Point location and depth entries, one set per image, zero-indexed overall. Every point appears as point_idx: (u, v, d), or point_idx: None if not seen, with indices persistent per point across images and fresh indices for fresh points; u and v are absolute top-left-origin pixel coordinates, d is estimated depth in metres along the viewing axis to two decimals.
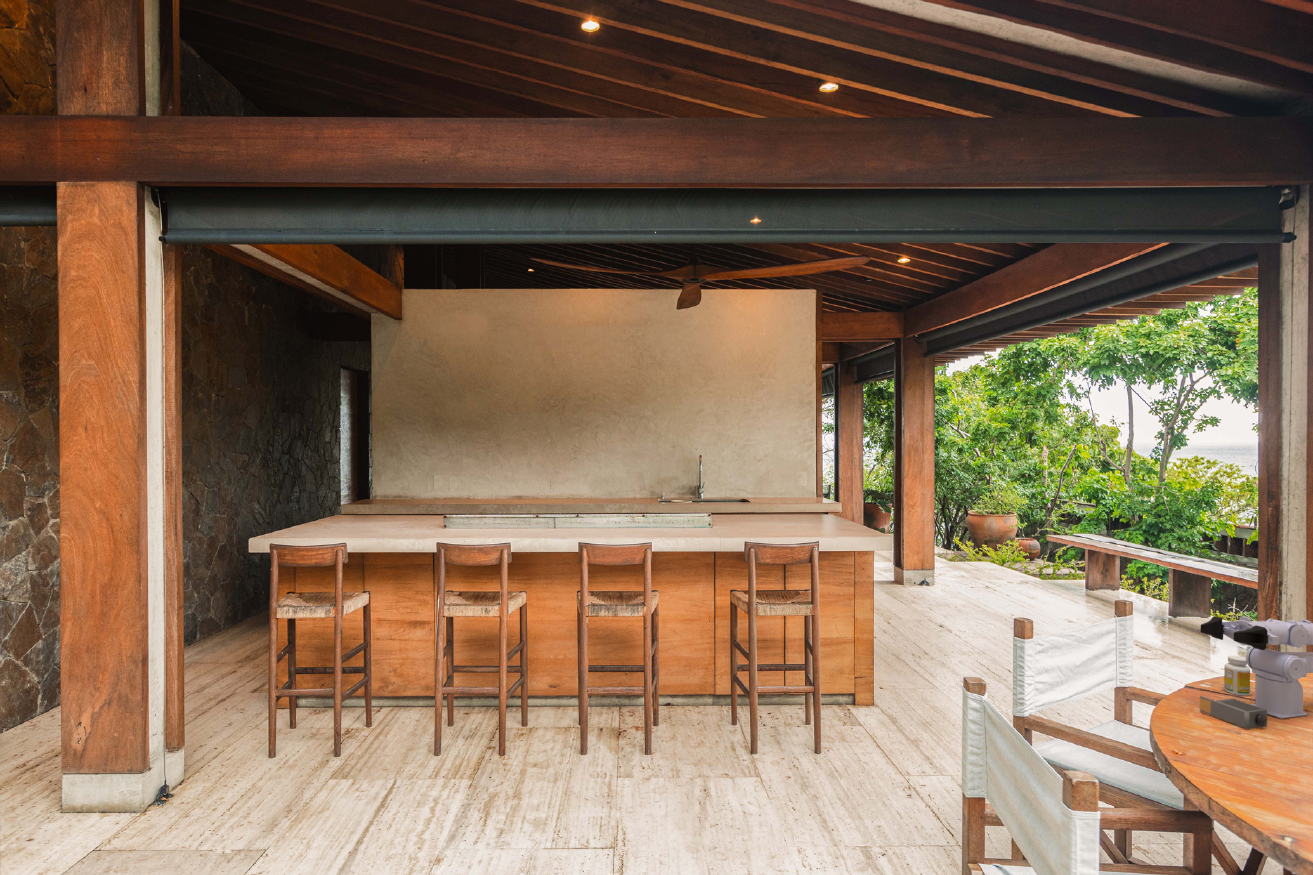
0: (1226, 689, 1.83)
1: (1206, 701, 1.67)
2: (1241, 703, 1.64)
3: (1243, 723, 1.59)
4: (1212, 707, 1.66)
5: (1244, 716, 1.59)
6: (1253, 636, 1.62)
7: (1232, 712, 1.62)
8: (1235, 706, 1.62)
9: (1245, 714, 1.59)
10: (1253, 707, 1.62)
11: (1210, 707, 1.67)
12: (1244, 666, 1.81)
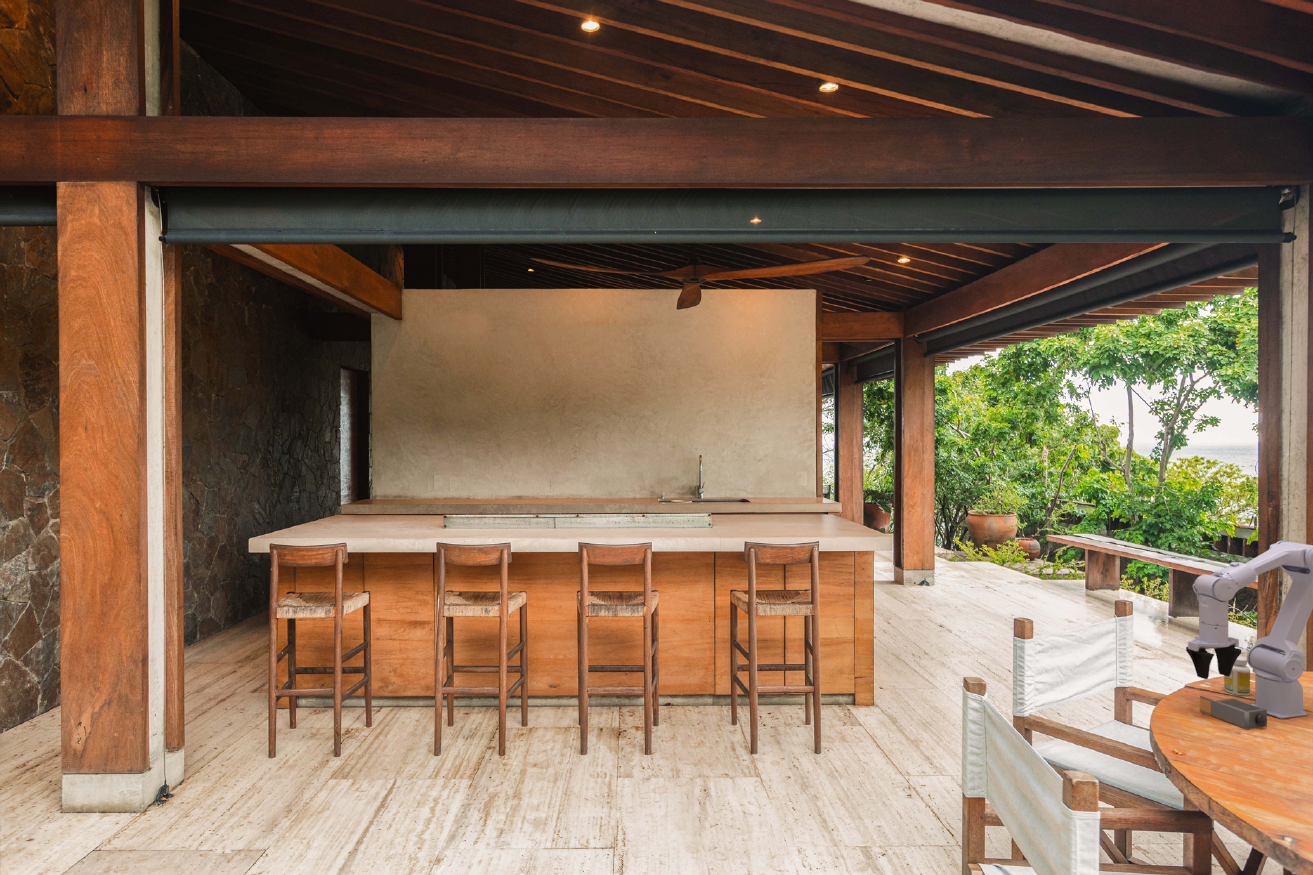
0: (1226, 689, 1.83)
1: (1206, 701, 1.67)
2: (1241, 703, 1.64)
3: (1243, 723, 1.59)
4: (1212, 707, 1.66)
5: (1244, 716, 1.59)
6: (1200, 656, 1.67)
7: (1232, 712, 1.62)
8: (1235, 706, 1.62)
9: (1245, 714, 1.59)
10: (1253, 707, 1.62)
11: (1210, 707, 1.67)
12: (1244, 666, 1.81)
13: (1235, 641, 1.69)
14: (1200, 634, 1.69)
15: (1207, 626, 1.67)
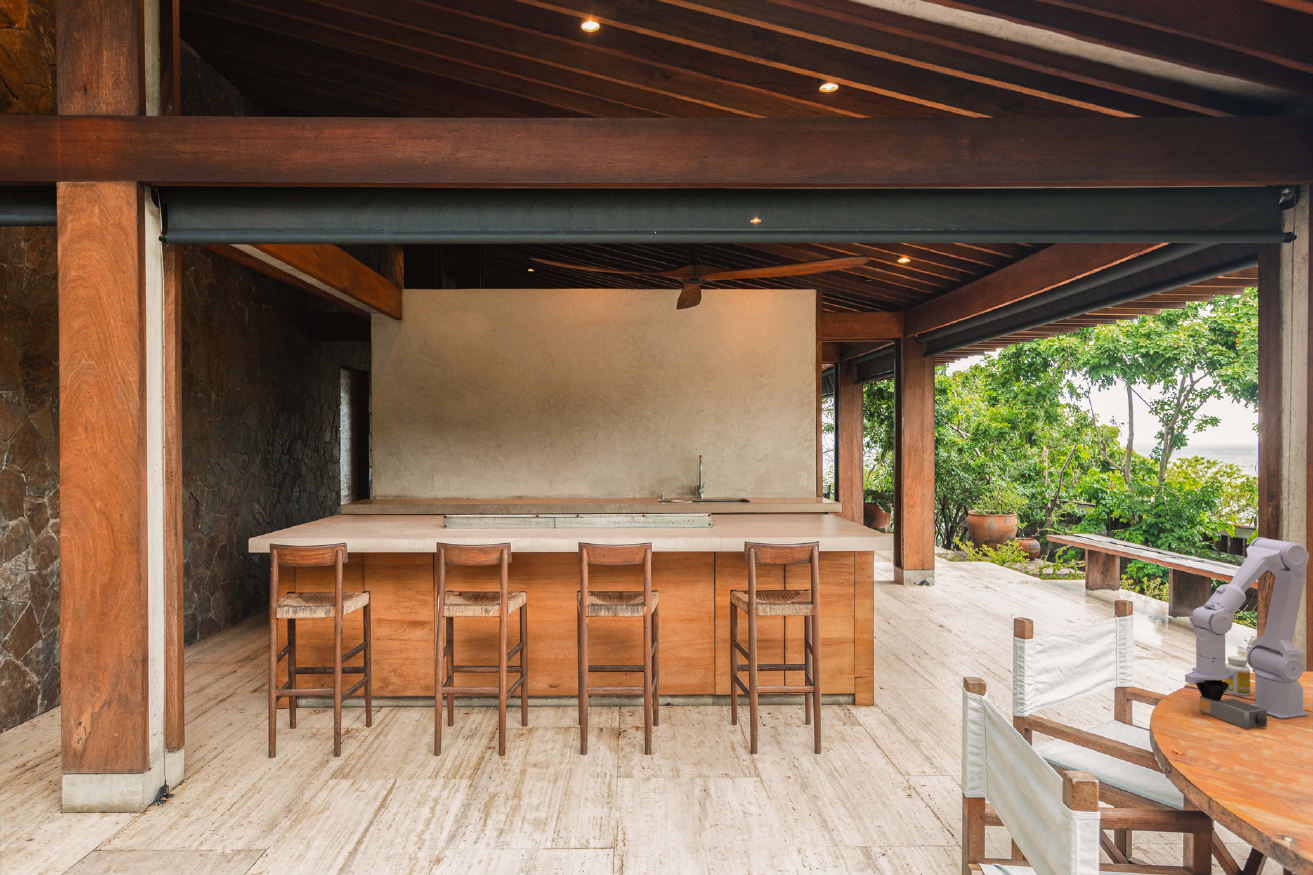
0: None
1: (1206, 701, 1.67)
2: (1241, 703, 1.64)
3: (1243, 723, 1.59)
4: (1212, 707, 1.66)
5: (1244, 716, 1.59)
6: (1207, 687, 1.68)
7: (1232, 712, 1.62)
8: (1235, 706, 1.62)
9: (1245, 714, 1.59)
10: (1253, 707, 1.62)
11: (1210, 707, 1.67)
12: (1244, 666, 1.81)
13: (1232, 673, 1.69)
14: (1197, 666, 1.69)
15: (1204, 659, 1.67)
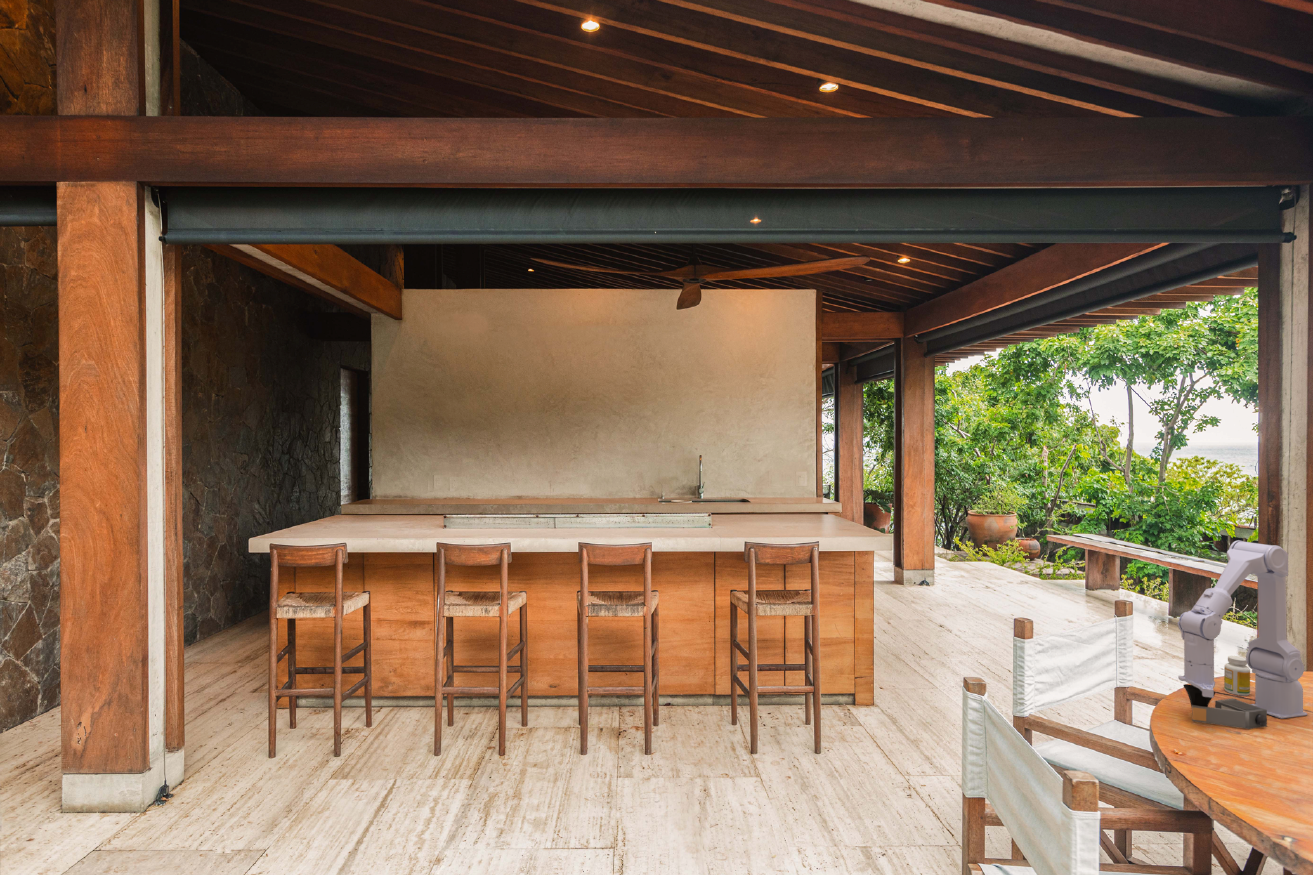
0: (1226, 689, 1.83)
1: (1201, 709, 1.62)
2: (1241, 703, 1.64)
3: (1245, 724, 1.59)
4: (1208, 714, 1.62)
5: (1246, 717, 1.59)
6: (1198, 695, 1.63)
7: (1231, 715, 1.60)
8: (1235, 706, 1.62)
9: (1247, 714, 1.59)
10: (1253, 707, 1.62)
11: (1205, 715, 1.62)
12: (1244, 666, 1.81)
13: None
14: (1195, 676, 1.62)
15: (1205, 667, 1.61)
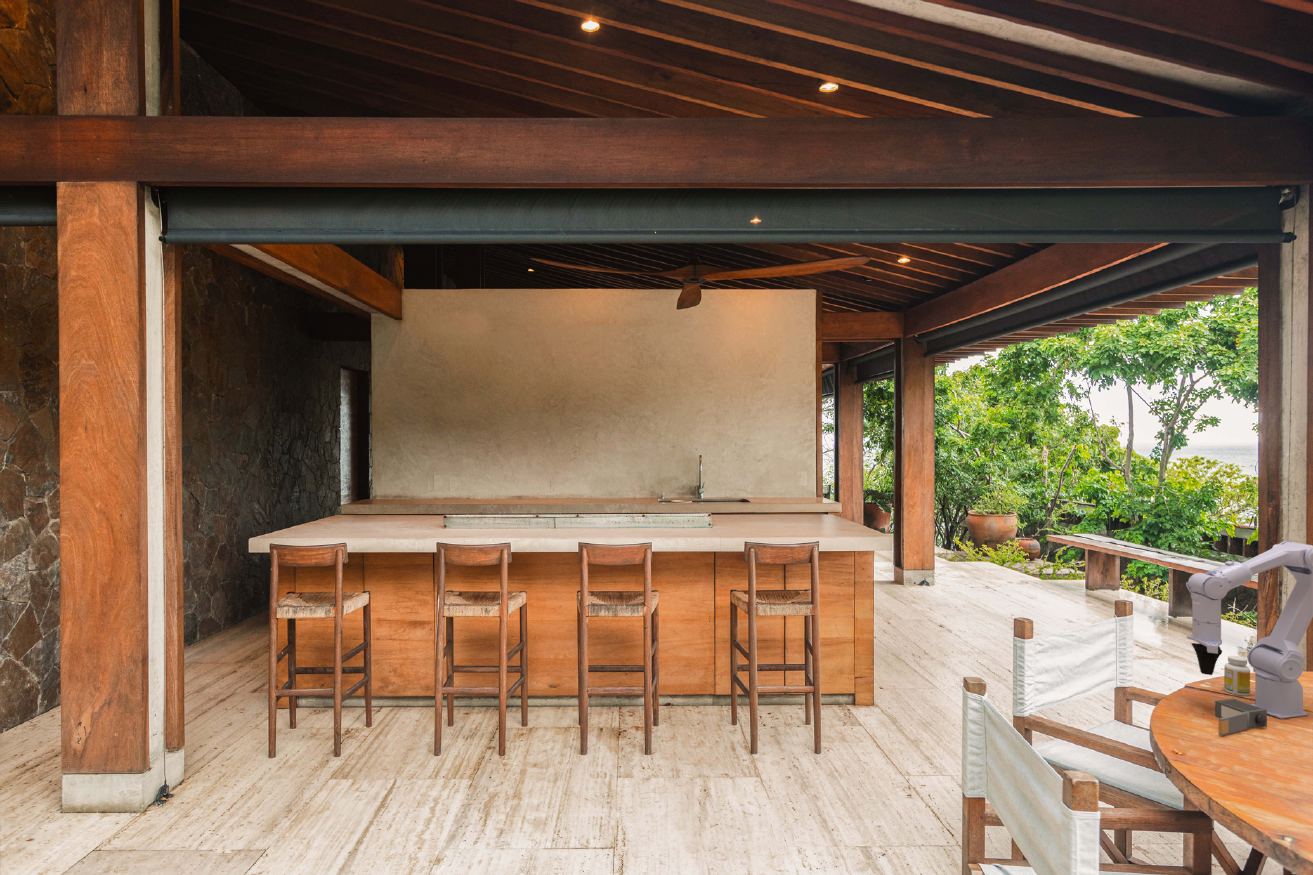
0: (1226, 689, 1.83)
1: (1225, 721, 1.55)
2: (1241, 703, 1.64)
3: (1247, 724, 1.58)
4: (1229, 724, 1.56)
5: (1248, 717, 1.59)
6: (1206, 653, 1.70)
7: (1240, 719, 1.58)
8: (1235, 706, 1.62)
9: (1248, 714, 1.59)
10: (1253, 707, 1.62)
11: (1227, 726, 1.56)
12: (1244, 666, 1.81)
13: None
14: (1202, 634, 1.69)
15: (1211, 625, 1.68)
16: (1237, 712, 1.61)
